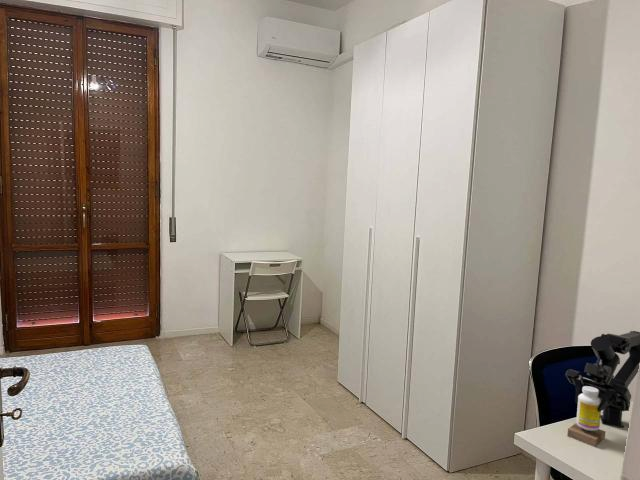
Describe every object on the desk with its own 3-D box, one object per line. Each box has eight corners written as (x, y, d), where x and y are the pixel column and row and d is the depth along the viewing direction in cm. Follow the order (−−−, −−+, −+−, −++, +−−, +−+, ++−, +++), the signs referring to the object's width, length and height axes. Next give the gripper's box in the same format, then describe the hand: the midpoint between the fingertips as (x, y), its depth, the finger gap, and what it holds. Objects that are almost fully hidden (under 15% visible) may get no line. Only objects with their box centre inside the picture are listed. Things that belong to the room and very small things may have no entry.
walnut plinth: (577, 428, 158) (578, 421, 158) (604, 438, 152) (605, 431, 152) (567, 436, 153) (567, 428, 153) (595, 447, 147) (595, 439, 146)
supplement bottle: (602, 432, 148) (606, 394, 147) (580, 430, 150) (583, 392, 148) (594, 422, 155) (597, 385, 154) (573, 420, 156) (576, 383, 155)
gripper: (569, 346, 160) (551, 384, 154) (630, 362, 145) (612, 405, 139) (579, 363, 165) (561, 400, 160) (638, 381, 150) (621, 423, 145)
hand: (587, 406), depth 151 cm, fingers closed on supplement bottle, 7 cm apart
